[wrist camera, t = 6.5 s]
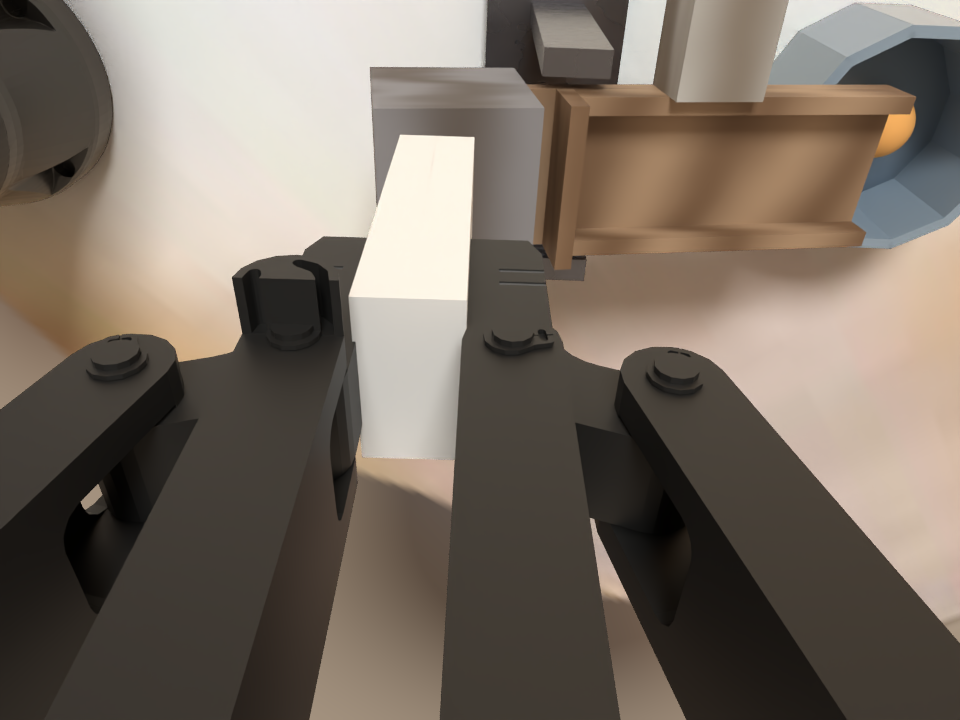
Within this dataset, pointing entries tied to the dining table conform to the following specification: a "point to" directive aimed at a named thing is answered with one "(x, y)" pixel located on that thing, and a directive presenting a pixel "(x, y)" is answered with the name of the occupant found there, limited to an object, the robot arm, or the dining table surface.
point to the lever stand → (557, 55)
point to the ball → (896, 133)
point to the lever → (654, 145)
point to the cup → (908, 67)
